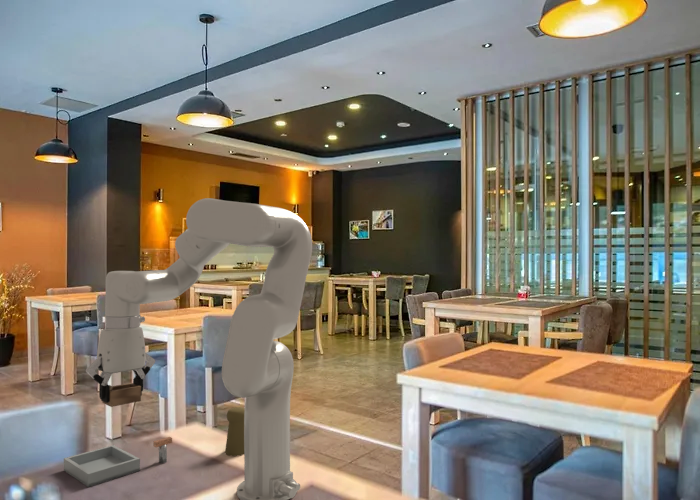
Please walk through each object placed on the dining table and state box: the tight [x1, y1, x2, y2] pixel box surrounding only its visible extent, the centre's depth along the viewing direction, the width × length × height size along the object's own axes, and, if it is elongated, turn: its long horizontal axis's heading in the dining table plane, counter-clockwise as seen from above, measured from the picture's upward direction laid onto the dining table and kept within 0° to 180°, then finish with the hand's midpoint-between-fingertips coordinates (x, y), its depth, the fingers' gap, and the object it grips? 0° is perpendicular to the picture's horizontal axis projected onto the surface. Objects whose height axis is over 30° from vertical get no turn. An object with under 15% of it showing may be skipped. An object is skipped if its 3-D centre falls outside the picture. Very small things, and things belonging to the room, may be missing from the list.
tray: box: [63, 444, 141, 488], centre depth 123 cm, size 14×12×3 cm
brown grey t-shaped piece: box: [152, 436, 173, 464], centre depth 128 cm, size 2×4×5 cm, turn 139°
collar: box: [101, 382, 142, 408], centre depth 126 cm, size 7×5×4 cm
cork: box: [224, 406, 245, 457], centre depth 135 cm, size 6×6×11 cm
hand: (121, 397), depth 126 cm, fingers closed on collar, 7 cm apart
